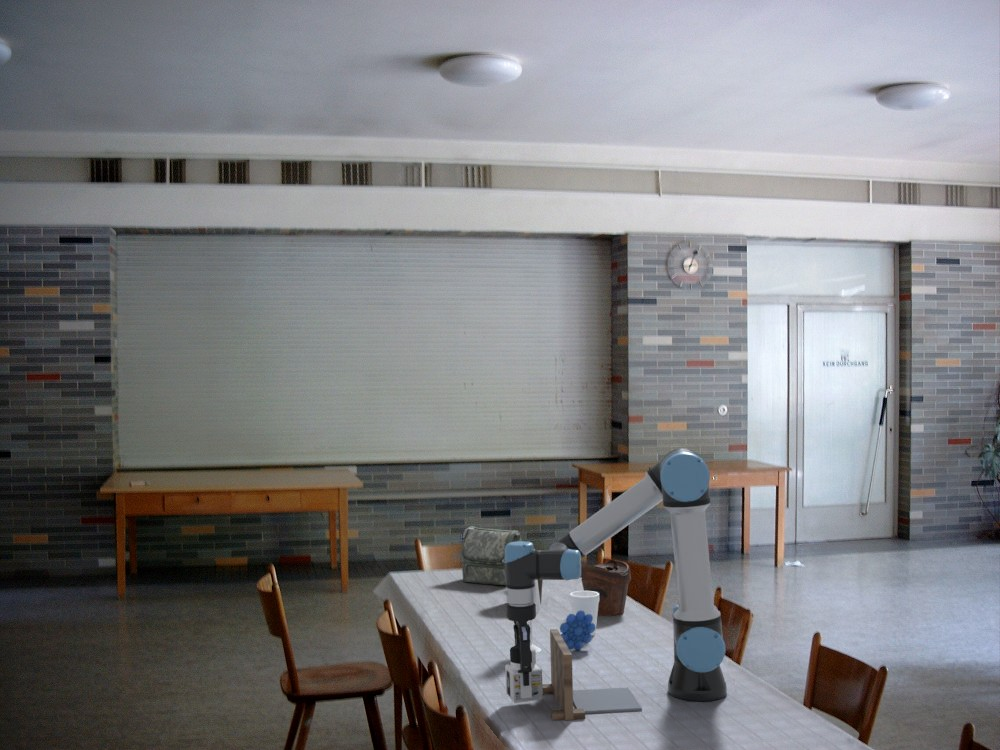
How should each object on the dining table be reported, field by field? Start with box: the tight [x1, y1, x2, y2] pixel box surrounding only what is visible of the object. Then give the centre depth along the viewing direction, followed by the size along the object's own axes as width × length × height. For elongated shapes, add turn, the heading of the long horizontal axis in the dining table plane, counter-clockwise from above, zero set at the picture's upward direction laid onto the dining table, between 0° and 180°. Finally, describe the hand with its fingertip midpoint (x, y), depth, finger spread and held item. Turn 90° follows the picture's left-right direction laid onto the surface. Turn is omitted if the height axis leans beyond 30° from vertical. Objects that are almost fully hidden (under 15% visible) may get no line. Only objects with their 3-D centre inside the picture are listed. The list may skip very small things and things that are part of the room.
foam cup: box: [569, 590, 599, 637], centre depth 316 cm, size 10×9×13 cm
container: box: [504, 644, 544, 704], centre depth 249 cm, size 8×8×13 cm
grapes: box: [559, 611, 597, 651], centre depth 299 cm, size 12×7×12 cm, turn 103°
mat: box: [573, 687, 643, 714], centre depth 251 cm, size 16×16×1 cm
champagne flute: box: [527, 580, 542, 654], centre depth 299 cm, size 7×7×24 cm
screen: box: [542, 628, 586, 721], centre depth 250 cm, size 24×8×16 cm, turn 5°
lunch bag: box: [458, 525, 523, 587], centre depth 400 cm, size 26×18×22 cm
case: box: [579, 559, 632, 617], centre depth 345 cm, size 18×20×18 cm
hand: (524, 691), depth 249 cm, fingers closed on container, 8 cm apart
